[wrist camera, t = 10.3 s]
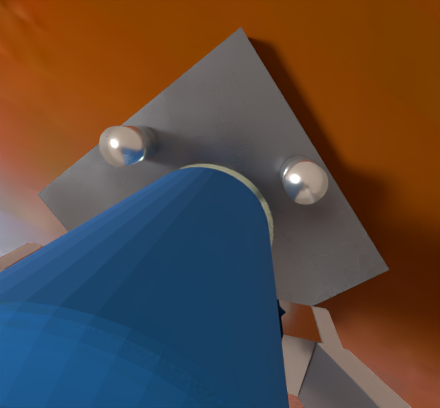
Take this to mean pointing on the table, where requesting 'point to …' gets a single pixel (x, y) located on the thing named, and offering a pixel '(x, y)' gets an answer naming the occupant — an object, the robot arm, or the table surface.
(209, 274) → the beverage can
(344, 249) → the plate
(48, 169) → the table surface
